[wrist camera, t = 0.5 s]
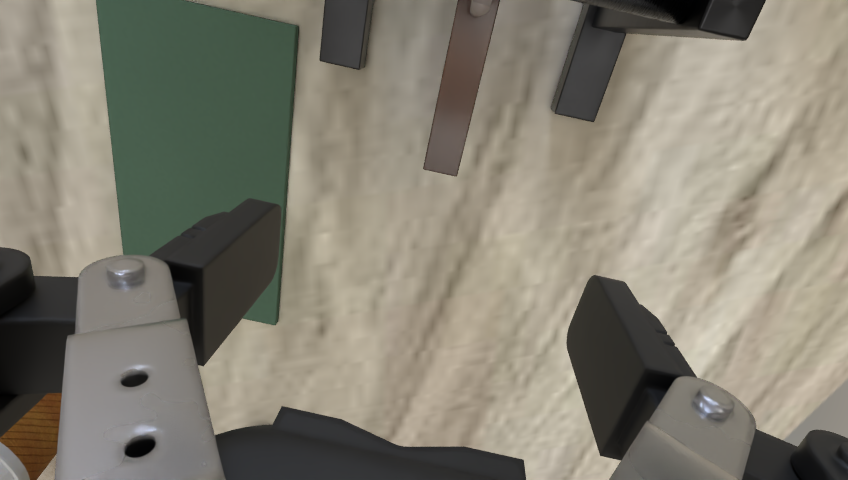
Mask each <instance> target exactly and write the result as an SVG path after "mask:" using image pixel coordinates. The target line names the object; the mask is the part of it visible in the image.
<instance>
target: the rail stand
mask: <svg viewBox="0 0 848 480" xmlns="http://www.w3.org/2000/svg"><path fill="white" fill-rule="evenodd" d="M373 1H374V0H325V6H324V17H323V28H322V39H321V50H320V61H322V62H326V63H331V64H335V65H340V66H344V67H349V68H353V69H358V70H360V69H362V68H364V67H365V61H366V54H367V46H368V39H369V31H370V24H371V16H372V9H373ZM572 1H576V2H581V3H584V5H583V8H582V12H581V15H580V18H579V21H578V24H577V27H576V30H575V34H574V37H573V40H572V43H571V46H570V49H569V52H568V56H567V59H566V62H565V65H564V68H563V71H562V74H561V78H560V81H559V84H558V87H557V90H556V93H555V96H554V99H553V103H552V106H551V110H552V111H553V112H554V113H555V114H559V115H564V116H568V117H573V118H577V119H582V120H586V121H591V122H594V121H595V118H596V116H597V113H598V110H599V107H600V105H601V102H602V99H603V96H604V94H605V91H606V88H607V85H608V83H609V80H610V77H611V75H612V72H613V69H614V66H615V64H616V61H617V58H618V55H619V53H620V50H621V47H622V44H623V42H624V39H625V36H626V33H629V34H644V35H660V36H676V37H692V38H707V39H723V40H739V41H744V40H747V38H748V37H749V35H750V33H751V31H752V28H753V26H754V24H755V22H756V20H757V18H758V16H759V14H760V12H761V10H762V7H763V5H764V3H765V1H766V0H572Z"/></svg>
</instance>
